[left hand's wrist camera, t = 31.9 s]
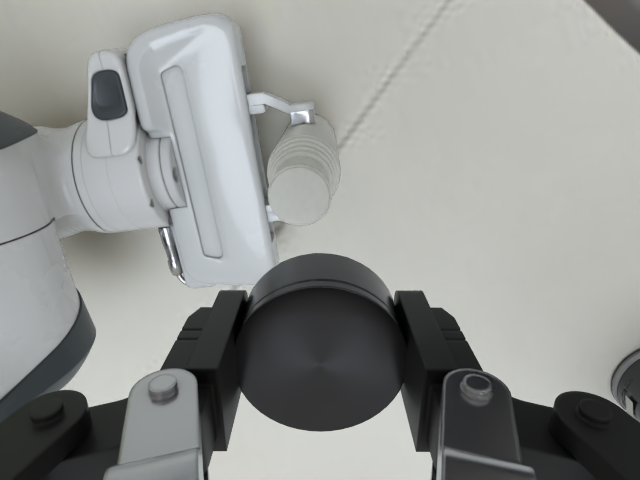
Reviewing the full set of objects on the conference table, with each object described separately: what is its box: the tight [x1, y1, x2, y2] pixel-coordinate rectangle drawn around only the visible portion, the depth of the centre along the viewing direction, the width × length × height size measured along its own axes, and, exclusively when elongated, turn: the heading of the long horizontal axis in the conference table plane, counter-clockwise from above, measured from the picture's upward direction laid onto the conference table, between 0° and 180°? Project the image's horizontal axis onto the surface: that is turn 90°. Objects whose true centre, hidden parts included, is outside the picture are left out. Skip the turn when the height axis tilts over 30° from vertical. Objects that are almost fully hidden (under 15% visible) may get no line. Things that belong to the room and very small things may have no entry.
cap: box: [235, 253, 407, 431], centre depth 12 cm, size 4×4×2 cm
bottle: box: [267, 115, 341, 226], centre depth 30 cm, size 5×5×18 cm
